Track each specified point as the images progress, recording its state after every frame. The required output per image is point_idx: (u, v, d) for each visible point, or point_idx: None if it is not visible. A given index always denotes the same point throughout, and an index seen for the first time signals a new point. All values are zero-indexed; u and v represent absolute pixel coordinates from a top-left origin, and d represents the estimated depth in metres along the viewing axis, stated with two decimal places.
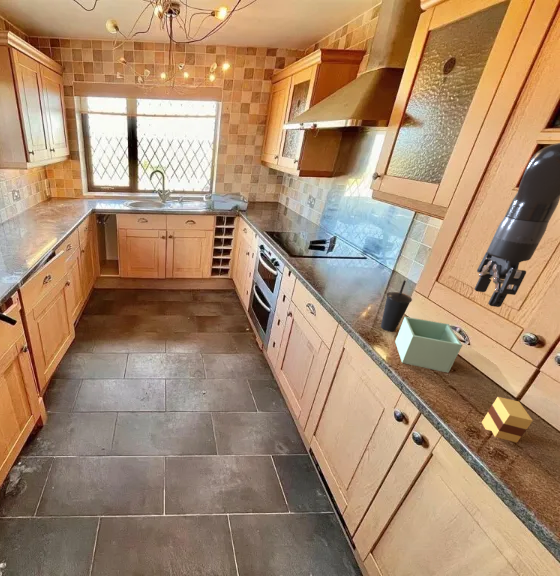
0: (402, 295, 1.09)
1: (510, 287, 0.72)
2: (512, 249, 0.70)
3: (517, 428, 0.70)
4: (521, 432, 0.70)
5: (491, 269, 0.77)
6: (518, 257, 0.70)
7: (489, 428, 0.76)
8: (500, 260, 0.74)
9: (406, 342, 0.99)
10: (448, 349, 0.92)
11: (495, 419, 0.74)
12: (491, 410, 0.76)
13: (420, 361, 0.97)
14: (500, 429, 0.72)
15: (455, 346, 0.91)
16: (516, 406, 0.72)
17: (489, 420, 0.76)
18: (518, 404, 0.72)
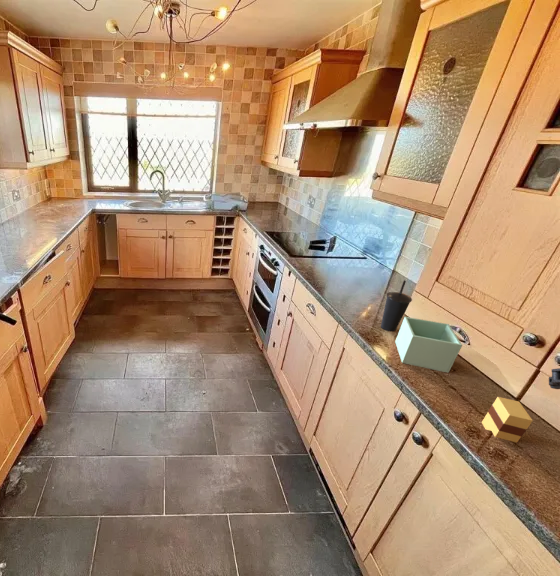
0: (402, 295, 1.09)
1: None
2: None
3: (517, 428, 0.70)
4: (521, 432, 0.70)
5: None
6: None
7: (489, 428, 0.76)
8: None
9: (406, 342, 0.99)
10: (448, 349, 0.92)
11: (495, 419, 0.74)
12: (491, 410, 0.76)
13: (420, 361, 0.97)
14: (500, 429, 0.72)
15: (455, 346, 0.91)
16: (516, 406, 0.72)
17: (489, 420, 0.76)
18: (518, 404, 0.72)
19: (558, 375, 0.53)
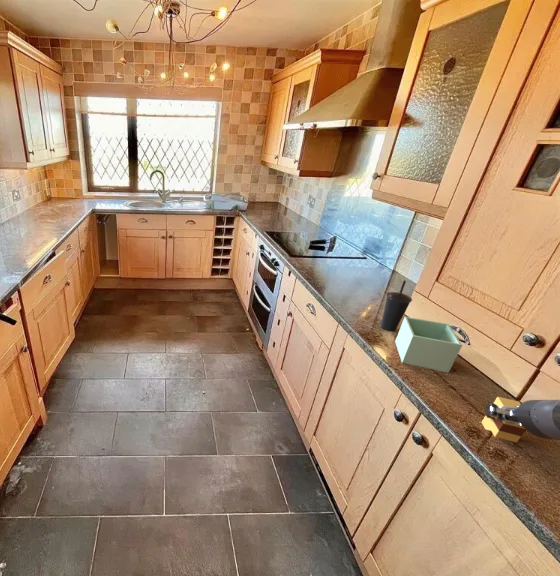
0: (402, 295, 1.09)
1: None
2: None
3: (517, 428, 0.70)
4: (521, 432, 0.70)
5: (517, 421, 0.68)
6: None
7: (488, 428, 0.76)
8: None
9: (406, 342, 0.99)
10: (448, 349, 0.92)
11: (495, 419, 0.74)
12: None
13: (420, 361, 0.97)
14: (500, 429, 0.72)
15: (455, 346, 0.91)
16: None
17: (489, 420, 0.76)
18: (518, 404, 0.72)
19: None
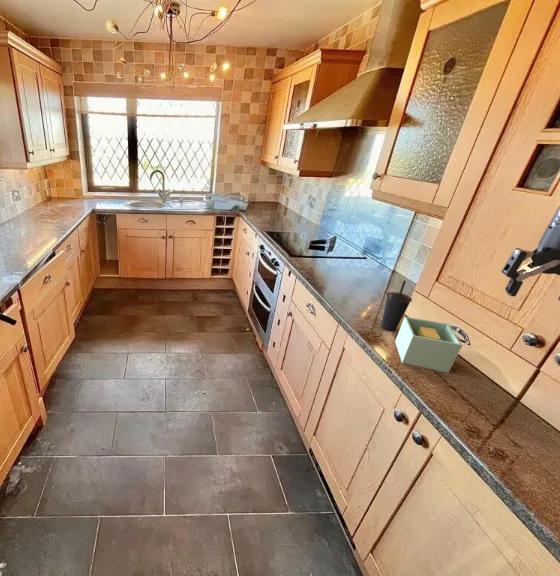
0: (402, 295, 1.09)
1: None
2: None
3: None
4: None
5: (549, 268, 0.63)
6: None
7: None
8: None
9: (406, 342, 0.99)
10: (448, 349, 0.92)
11: None
12: None
13: (420, 361, 0.97)
14: None
15: (455, 346, 0.91)
16: (432, 331, 0.98)
17: None
18: (433, 330, 0.99)
19: (507, 270, 0.67)
